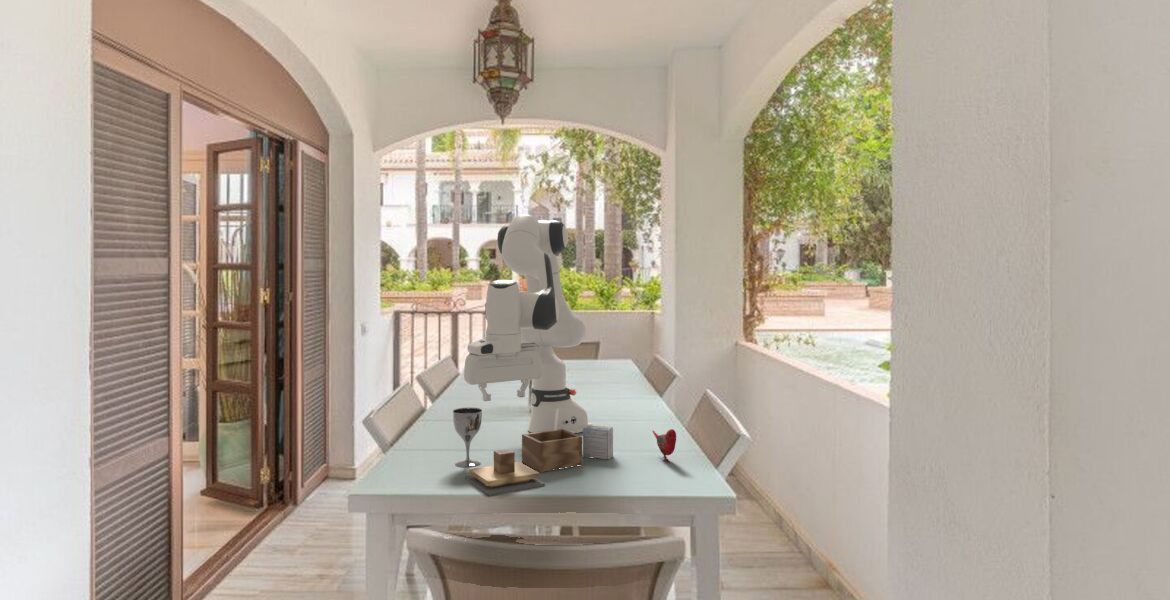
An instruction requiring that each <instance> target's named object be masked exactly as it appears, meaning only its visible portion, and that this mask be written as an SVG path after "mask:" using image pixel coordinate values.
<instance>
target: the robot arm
mask: <svg viewBox="0 0 1170 600" xmlns="http://www.w3.org/2000/svg"><path fill="white" fill-rule="evenodd" d="M496 241H497V247H498V250H499V253H500V254H501V257H502V260H503V261H502V262H503V263H504V264H505V266H506V267H507V268H508V269H510V270H511V271H512V272H513V273H516V274H519V275H522V276H523V275H524V276H525V281H526V288H527V289H526V290H527V291H520V287H519V283H518V282H517V281H515V280H512V279H498V280H492V281H490V282H489V284H488V286H487V291H486V298H485V305H484V307H485V308H484V309H485V310H484V314H485V320H486V323H487V327H486V330H485V337H484V338H483V337H482V338H481V339H479V340H475V341H473V342H471V343H469V344H468V345H467V348H466V349H467V352H468V353H469V354H467V356H466V358H465V361H464V367H463V371H464V372H463V376H464V377H463V379H464V381H465V382H466V384H468V385H472V386H474V385H477V387H478V389H479V391H480V392H481V394H482V401H483V402H490V401H491V400H492V398H491V397H492V394H491V393H489V392H487V390H486V388H488V387H487V386H488V385H487V384H492V383H493V384H494V383H503V382H514V381H515V382H516V381H520V383H522V384H521V386H520V388H519V389H517V390H516V396H517V398H525V397H526V390H527V388H528V386H529V385H530V380H532V387H531V389H530V391H531V393H530V401H531V402H530V403H531V414H530V420H529V424H528V427H527V432H529V433H537V432H544V431H552V430H559V429H564V430H566V431H569V432H571V433H574V434H578V433H583V428H584V427H586V426H588V425H593V426H595V424H594V423H592V422H590V421H589V419H588V414H587V411H586V409H585V408H584V407H583V406H582V405H580V404H579V403H578V402H577V401H575V400H573V398H571V396H576V395H577V390H576V389H574V388H568V387H567V386H566V385H567V366H566V364H565V362H564V361H563V360H562V359H560V358H559V357H558V356H557V355H556V353H555V351H554V348H572V347H576V346H579V345H580V344H581V343H582V342H583V341H584V338H585V336H586V325H585V323H584V321H583V319H582V318H581V317H579V316H578V315H577V314H576V313H574V312H573V310H572V309H571V307H570V306H569V304H568V302H567V301H566V299H565V296H564V293H563V289H562V282H561V274H560V268H559V267H560V265H559V261H558V256H560V254H562V253H563V252H564V251H566V249H567V246H568V243H569V242H568V241H569V233H568V230H567V227H566V225H565V224H564V223H563V222H562V221H561V220H554V219H551V220H538V219H537V218H536V217H534V216H533V215H531V214H527V213H526V214H524V213H523V214H518V215H517V216H515V217H514V218H513V219H512V220H511V221H510V223H509V224H507V225H504V226H502V227H501V228H500V229H499V231H498V232H497V238H496ZM553 347H554V348H553Z"/></svg>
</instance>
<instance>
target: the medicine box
mask: <svg viewBox="0 0 1170 600" xmlns="http://www.w3.org/2000/svg"><path fill="white" fill-rule="evenodd" d="M593 425H594V424H593ZM593 425H588V426H586V427H584V428H583V432H582V458H584V457H593V458H592V459H596V458H601V459H600V460H607V459H609V460H610V459H611V458H612V457H613V456H614V427H613V426H605V425H594V426H593Z"/></svg>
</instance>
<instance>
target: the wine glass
mask: <svg viewBox="0 0 1170 600" xmlns="http://www.w3.org/2000/svg"><path fill="white" fill-rule="evenodd" d="M452 421H453V426H454V431H455V432H456V433H457V435H458V436H459V438H461V439H462V441H463V442H464V445H465V451H466V452H465V454H466V457H465V460H460V461H457V462H455V463H454V466H455V467H458V468H463V469H464V468H469V469H470V468H477V467H478V466H480V465H481V464H482V463H481V461H478V460H474V459H473V460H471V459H470V448H471V443H472V441H473V439H474V438H475V437H476V435H477V434H478V433H479V432H480V430H481V425H482V421H483V410H482V408H479V407H460V408H455V409H453V410H452Z"/></svg>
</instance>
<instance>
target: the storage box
mask: <svg viewBox="0 0 1170 600" xmlns="http://www.w3.org/2000/svg"><path fill="white" fill-rule="evenodd" d="M521 463H524V465H525V464H526V466H527V465H528V467H529V466H530V467H531V469H532V468H533V470H534V469H535V471H536V470H537V472H538V471H539V472H542V473H545V472H544V471H548V472H550V471H549V470H553V469H559V468H565V467H571V466H577V465H582V466H583V436H582V435H581V436H580V435H578V434H577V433H571V432H569V431H566V430H564V429H559V430H552V431H544V432H537V433H531V432H529V433H523V434H521Z"/></svg>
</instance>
